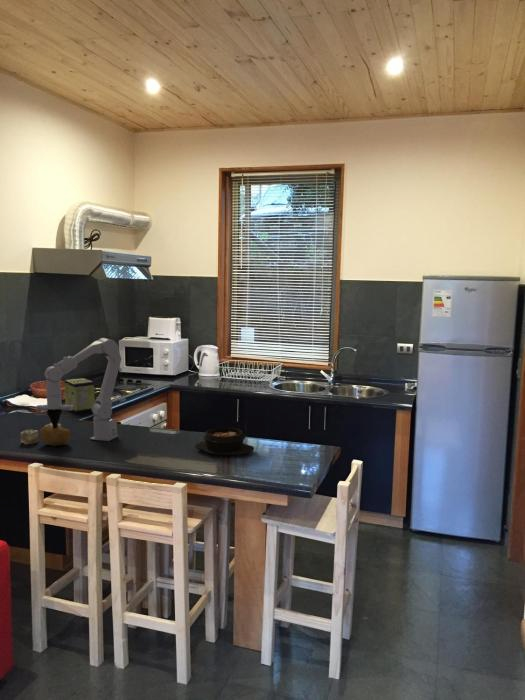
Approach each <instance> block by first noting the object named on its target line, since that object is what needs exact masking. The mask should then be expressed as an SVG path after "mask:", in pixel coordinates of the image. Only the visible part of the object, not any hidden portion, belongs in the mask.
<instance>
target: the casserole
mask: <svg viewBox="0 0 525 700" xmlns="http://www.w3.org/2000/svg"><path fill="white" fill-rule="evenodd" d="M243 432H244V431H243V430H242V429H239V428H236V427H229V426H228V427H227V426H226V427H215V428H211V429H208V430H207V431H205V434H204V436H203V439H204V440H203V441H200V442H198V443H196V444H195V445H194V448H195V449H197V450H201V451H203V452H205V453H208V454H211V455H215V456H223V457H225V456H232V455H236V456H242V455H247V454H250V453H251V452H254V450H255V446H252V445H251V444H247V443H245V442H244V440H245V439H246V436H245V434H244V433H243Z"/></svg>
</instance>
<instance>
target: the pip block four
mask: <svg viewBox="0 0 525 700" xmlns="http://www.w3.org/2000/svg"><path fill="white" fill-rule="evenodd" d="M39 439H40V438H39V430H37V429H36V430H35V429H26V430H23V431H21V432H20V444H21V443H24V444H23V445H28V444H32V445H34V444H36V443H39V442H38V441H39ZM33 443H34V444H33Z"/></svg>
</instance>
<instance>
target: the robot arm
mask: <svg viewBox="0 0 525 700" xmlns="http://www.w3.org/2000/svg"><path fill="white" fill-rule="evenodd" d="M94 354H103V355H104V357H105V358H106V359H107V365H106V369H105V372H104V376H103V379H102V380H103V381H102V383H101V387H100V390H99V391H100V392H99V395H98V396H97V397H96V399H95V403H94V404H93V405H92V411H91V413H92V414H93V420H92V421H93V436H92V437H89V440H94V441H104V442H105V441H107V442H109V441H112V440H114V439H115V438H118V437H119V435H118V427H117V426H118V425H117V420H116V419H114V418H111V416H112V414H113V409H112V407H113V406H112V405H113V402H112V397H113V392H114V388H115V385H116V381H117V378H118V373H119V370H120V366H121V362H122V356H121V353H120V346H119V344H118V343H117V342H116V341H115V340H113V339H110V338H106V337H100V338H99V339H98V340H95V341H93V342H91V344H89V345H88V346H87V347H85V348H83V349H81V351H78V353H76V354H75V355H73V356H70V355H68V356H63V357H62V358H63V359H61V360H60V361H58V362H57V363H55V362H54V363H53V365H52V366H48V367H46V369H45V370H44V373H43V375H44V377H45V380H46V381H45V383H46V385H45V386H46V387H45V388H46V389H45V390H46V404H39V405H36V406H35V411H36V412H38V411H46V415H47V416H48V418H49V419H50V421H51V422H50V423H52V425H53V428H56V427H58V424H59V420H60V418H61V415H62V413H63V411H71V412H72V410H73V405H65V404H63V403H62V383H61V380H62V378H63V376H65V375H66V374H68V373H70V372H71V371H73V370H75V369H76V368H77V367H78V364H79V363H80V362H82V361H84V360H85V359H87V358H89V357H91V356H92V355H94Z"/></svg>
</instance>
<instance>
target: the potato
mask: <svg viewBox="0 0 525 700" xmlns="http://www.w3.org/2000/svg"><path fill="white" fill-rule="evenodd" d="M44 426H45V427H44ZM44 426H43V427H42V428H40V430H39V437H40V439H41V441H42V442H43V443H45V444H46V445H49V446H51V447H57V446H64V445H65V444H67V443H68V442H69V441H70V440H71V436H72V434H71V431H70V430H69V429H68V428H64V427H62V426H61V427H56V428H53V426H46V425H44Z"/></svg>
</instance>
